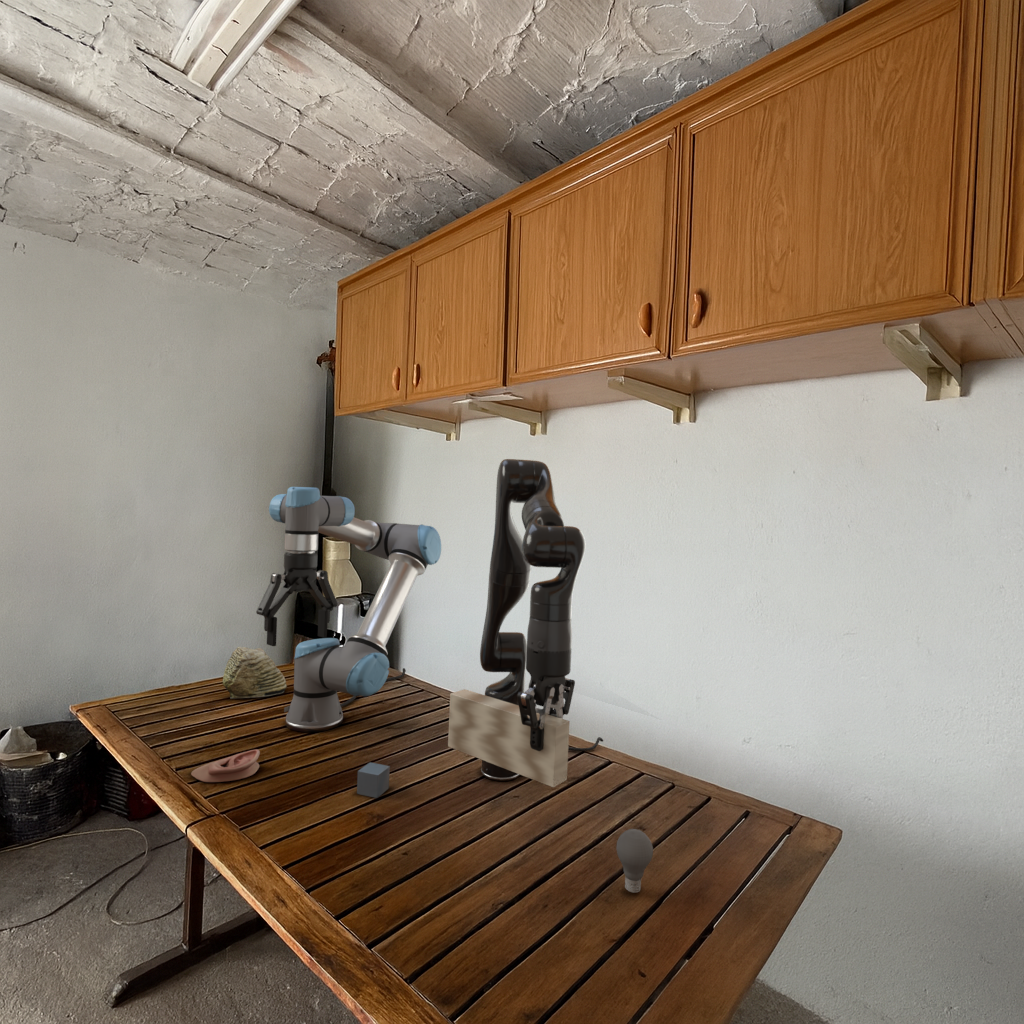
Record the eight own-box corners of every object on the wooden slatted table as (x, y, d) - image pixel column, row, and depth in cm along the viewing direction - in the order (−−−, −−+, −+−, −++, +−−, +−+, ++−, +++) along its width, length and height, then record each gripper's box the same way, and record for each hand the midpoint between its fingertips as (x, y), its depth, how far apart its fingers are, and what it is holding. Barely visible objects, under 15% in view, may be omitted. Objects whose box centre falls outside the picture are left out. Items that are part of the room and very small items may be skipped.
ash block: (447, 746, 118) (450, 693, 118) (462, 740, 121) (464, 689, 121) (553, 787, 103) (556, 726, 103) (567, 779, 106) (569, 720, 106)
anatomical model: (182, 760, 139) (216, 741, 150) (181, 778, 139) (216, 758, 150) (236, 768, 136) (267, 748, 147) (235, 786, 136) (266, 765, 147)
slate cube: (369, 784, 140) (370, 762, 140) (389, 788, 139) (389, 766, 139) (356, 794, 136) (357, 770, 136) (377, 798, 134) (378, 775, 134)
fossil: (218, 695, 195) (220, 647, 195) (278, 685, 208) (279, 640, 207) (228, 703, 189) (230, 653, 188) (289, 692, 201) (290, 645, 201)
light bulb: (610, 879, 108) (613, 822, 108) (644, 879, 109) (647, 822, 109) (619, 902, 102) (622, 840, 102) (655, 901, 103) (658, 840, 103)
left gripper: (335, 548, 162) (332, 631, 163) (242, 552, 143) (239, 645, 143) (353, 551, 158) (350, 636, 158) (260, 555, 138) (256, 652, 139)
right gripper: (555, 634, 114) (550, 729, 115) (505, 646, 103) (500, 751, 103) (590, 641, 110) (586, 740, 110) (542, 655, 98) (537, 764, 99)
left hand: (297, 640), depth 151 cm, fingers open, 13 cm apart
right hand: (544, 745), depth 107 cm, fingers closed on ash block, 4 cm apart
